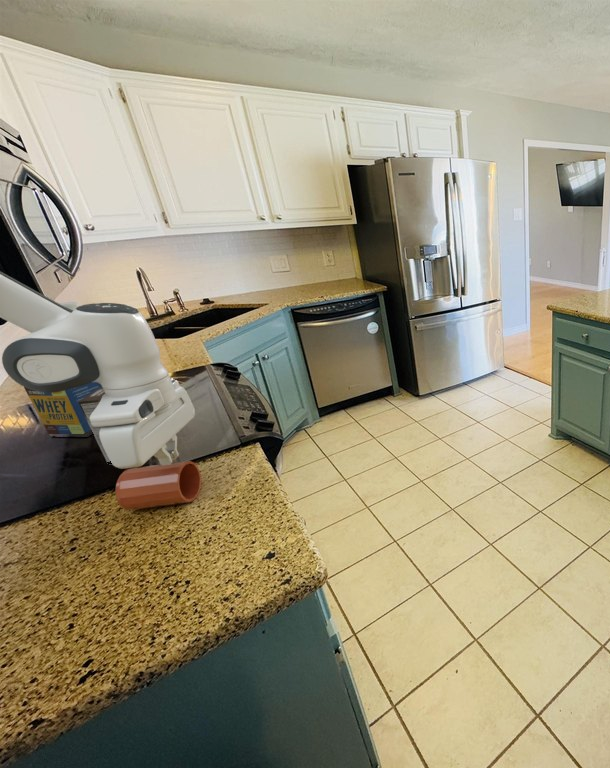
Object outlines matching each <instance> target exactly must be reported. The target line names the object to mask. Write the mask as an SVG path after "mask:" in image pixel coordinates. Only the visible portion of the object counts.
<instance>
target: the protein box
mask: <svg viewBox="0 0 610 768" xmlns="http://www.w3.org/2000/svg"><path fill="white" fill-rule="evenodd" d="M101 386H102V385H101V384H100V383H98V382H91V383H89V384H86V385H83V386H80V387H76V388H72V389H69V390H65V391H60V392H54V393H45V392H38V391H34V390H31V389H28V388H26V387H24V386H23V388H24V391H25V392H26V394H27V396H28V398H29V400H30V401H31V403H32V405H33V407H34V409H35V411H36V414H37V416H38V417H39V419H40V422H41V423H42V425H43V427H44V428H45V430H46V433H47V434H48V435H49V434H84V433H86V432H88V431H90V430H91V428H90V426H89V424H88V422H87V420H86V418H85V416H84V413H83V411H82V409H81V407H80V405H79V403H78V401H80V400H81V399H83V398H84V397H86V396H87V395H89V394H91V393H92V392H94V391H95V390H97V389H98V388H100V387H101Z"/></svg>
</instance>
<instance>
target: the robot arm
mask: <svg viewBox="0 0 610 768" xmlns="http://www.w3.org/2000/svg"><path fill="white" fill-rule="evenodd" d="M59 303H60V302H57V301H56V300H53V299H51V298H49V297H48V296H46V295H45V294H42V293H40V292H39V291H36V290H35V289H33V288H32V287H30V286H28V285H26V284H24V283H22V282H20V281H19V280H17V279H16V278H14V277H11V276H9V275H8V274H6V273H4V272H2V271H1V270H0V318H1V319H2V320H4V321H7V322H9V323H10V324H12V325H15V326H16V327H19V328H20V329H23V330H25V331H26V332H29V333H28V334H26V335H23V336H21V337H19V338H17V339H16V340H14V341H12V342H11V343H9V344H8V345H7V346H6V347H5V348H4V350H3V352H2V356H1V362H2V366H3V369H4V371H5V372H6V374H7V375H8V377H10V379H12V380H13V381H14V382H15V383H17V384H18V385H20V386H22V387H23V388H24V387H26V388H28V389H31V390H34V391H38V392H45V393H54V392H60V391H65V390H69V389H72V388H76V387H80V386H83V385H86V384H89V383H91V382H98V383H100V384H101V385H102V387H103V389H104V392H105V394H104V395H103V396H102V399H101V401H100V403H99V404H98V406H97V407H96V408H95V410H94V411H93V412H92V414H91V415H90V422H91V424H92V425H93V426H94V427H101V429H100V432H99V436H100V440H101V443H102V445H103V448H104V450H105V452H106V454H107V456H108V458H109V460H110V461H111V463H112V464H111V465H112V466H113V467H115V468H116V469H117V468H118V469H120V470H123V469H124V470H126V469H131V468H137V467H143V465H145V464H146V463H147V462H148V461H149V460H150V459H152V457H155V458H156V459H157V461H158V462H159V465H163V466H164V465H170V464H171V463H174V461H175V460H176V459H177V458H179V456H180V453H179V452H178V449H177V448H178V436H177V434H178V433H179V432H180V431H181V430H182V429H183V428H184V427H185V426H186V425H187V424H188V423H190V422H191V421H192V420H193V419H194V418H195V416H196V409H195V405H194V404H193V401H192V400H191V398H190V395H189V394H188V392H187V390H186V389H185V388H184V387H183V386H181V385H180V383H179V381H178V380H176V379H174V378H172V377H171V376H170V374H169V371H168V370H167V368H166V367H165V366H164V364H163V362H162V360H161V350H160V347H159V344H158V343H157V339H156V338H155V335H154V332H153V331H152V329H151V327H150V325H149V323H148V322H147V320H146V318H145V316H144V315H143V313H141V311H140V310H138V309H137V308H135V307H133V306H130V305H127V304H123V303H117V302H116V303H115V302H99V303H97V302H96V303H86V304H82V305H78V306H79V307H77V308H75V309H74V310H71V309H69V308H66V307H64V306H62V305H60V304H59Z"/></svg>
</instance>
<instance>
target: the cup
mask: <svg viewBox="0 0 610 768" xmlns="http://www.w3.org/2000/svg"><path fill="white" fill-rule="evenodd" d="M201 486H202V474H201V471H200V468H199V466H198V465H197V464H196V463H195V462H194V461H191V460H186V461H185V460H184V461H179V462H172V463H171V464H170V465H164V466H163V465H161V464H154V465H146V466H139V467H133V468H126V469H124V471H122V472H121V474H120V475H119V477H118V479H117V481H116V484H115V498H116V501H117V503H118V505H119V506H120V507H121V508H122V509H124V510H125V511H126V510H127V511H137V510H144V509H150V508H158V507H164V506H165V507H166V506H172V505H178V504H185V503H191V502H193V501H195V500H196V499H197V498H198V496H199V494H200V491H201V489H202V487H201Z"/></svg>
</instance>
